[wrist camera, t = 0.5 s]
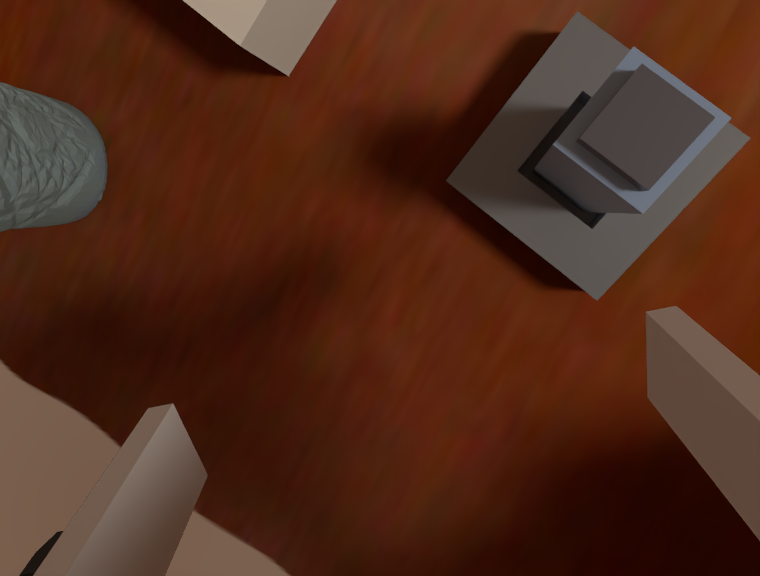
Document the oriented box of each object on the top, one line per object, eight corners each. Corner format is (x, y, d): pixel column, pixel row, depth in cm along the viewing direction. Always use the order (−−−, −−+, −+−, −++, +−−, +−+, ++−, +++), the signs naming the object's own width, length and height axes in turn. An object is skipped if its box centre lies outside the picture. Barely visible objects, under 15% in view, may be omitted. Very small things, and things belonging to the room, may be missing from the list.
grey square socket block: (723, 145, 26) (750, 138, 23) (587, 291, 29) (597, 300, 26) (569, 32, 27) (577, 11, 24) (451, 183, 30) (445, 180, 27)
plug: (632, 157, 27) (743, 113, 14) (584, 212, 28) (650, 214, 15) (577, 116, 27) (640, 37, 15) (531, 171, 28) (555, 141, 16)
